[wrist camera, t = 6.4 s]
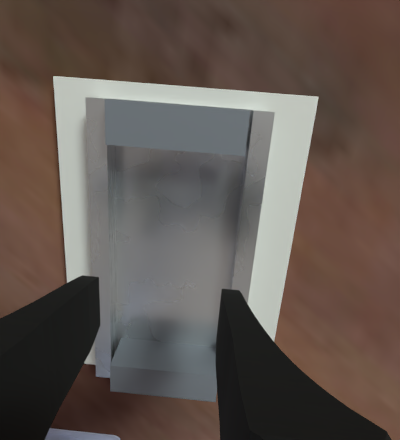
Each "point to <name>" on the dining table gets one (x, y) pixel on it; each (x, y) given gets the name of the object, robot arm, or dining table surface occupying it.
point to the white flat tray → (177, 218)
